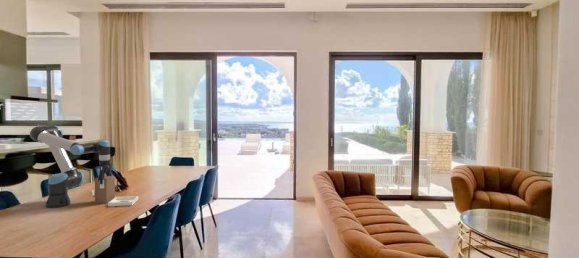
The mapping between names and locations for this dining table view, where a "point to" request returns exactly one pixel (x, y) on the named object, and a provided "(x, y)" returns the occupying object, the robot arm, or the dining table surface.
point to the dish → (123, 201)
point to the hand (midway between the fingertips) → (105, 186)
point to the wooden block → (105, 190)
